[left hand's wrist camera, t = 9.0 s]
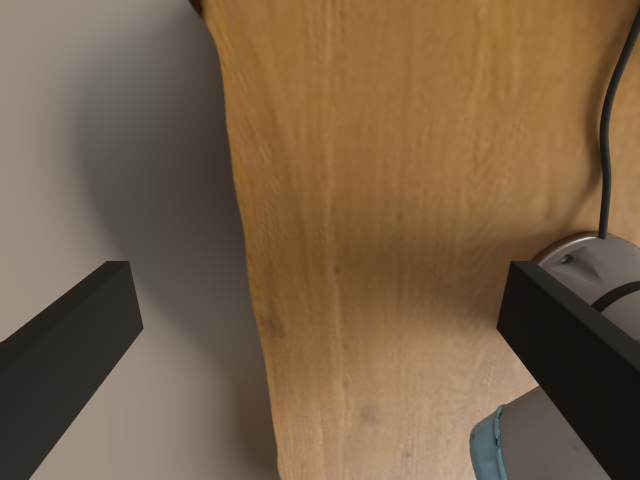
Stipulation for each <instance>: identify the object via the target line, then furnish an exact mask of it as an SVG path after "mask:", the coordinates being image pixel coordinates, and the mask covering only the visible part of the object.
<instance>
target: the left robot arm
mask: <svg viewBox="0 0 640 480" xmlns="http://www.w3.org/2000/svg"><path fill="white" fill-rule="evenodd" d="M639 32H640V8H639V11H638V13H637V15H636V18H635V20H634V23H633V25H632V28H631V30H630V33H629V35H628V38H627V40H626V43H625V45H624V48H623V50H622V53H621V55H620V58H619V60H618V63H617V65H616V68H615V70H614V73H613V75H612V78H611V81H610V84H609V87H608V90H607V93H606V97H605V100H604V105H603V109H602V115H601V122H600V152H601V161H602V173H603V187H602V201H601V211H600V222H599V232H587V233H581V234H576V235H573V236H569V237H567V238H564V239H562V240H560V241H558V242H556V243H554V244H552V245H550V246H549V247H548V248H546V249H545V250H543V251H542V252H541V253H540V254H539V255H538V256H537V257H535V258H534V260H533V261H511V263H510V268H509V273H508V277H507V282H506V286H505V291H504V296H503V300H502V305H501V309H500V314H499V319H498V323H497V328H496V329H497V330H498V331H499V332H500V334H501V335H502V336H503V338H504V339H505V340H506V342H507V343H508V344H509V346H510V347H511V348H512V350H513V351H514V352H515V354H516V355H517V356H518V357H519V359H520V360H521V361H522V363H523V364H524V365H525V367H526V368H527V369H528V371H529V372H530V373H531V375H532V376H533V377H534V379H535V380H536V381H537V383H538V384H539V386H538V387H536V388H534V389H532V390H531V391H529V392H527V393H526V394H524V395H522V396H520V397H519V398H517V399H515V400H514V401H512V402H510V403H508V404H506V405H505V404H503V405H501V406H499V407H498V408H497V410H496V411H495V412H493V413H492V414H490V415H489V416H488V417H486V418H485V419H483V420H482V421H480V422H479V423H477V424H476V425H475V426H474V428H473V429H472V431H471V434H470V440H469V444H470V456H471V461H472V465H473V469H474V472H475V476H476V479H477V480H640V248H638V247H637V246H636V245H634V244H632V243H630V242H628V241H626V240H624V239H622V238H620V237H618V236H615V235H612V234H608V233H607V225H608V215H609V204H610V194H611V163H610V153H609V140H608V132H609V120H610V114H611V109H612V104H613V100H614V96H615V93H616V90H617V87H618V84H619V81H620V78H621V76H622V73H623V71H624V68H625V66H626V64H627V61H628V59H629V56H630V54H631V51H632V49H633V47H634V44H635V42H636V39H637V37H638V34H639ZM142 330H143V323H142V319H141V314H140V309H139V305H138V300H137V296H136V291H135V286H134V282H133V277H132V273H131V268H130V263H129V261H106V262H105V263H104V264H103V265H101V266H100V267H99V268H97V269H96V270H95V271H93V272H92V273H91V274H90V275H88V276H87V277H86V278H84V279H83V280H82V281H80V282H79V283H78V284H77V285H75V286H74V287H73V288H72V289H70V290H69V291H68V292H66V293H65V294H64V295H62V296H61V297H60V298H59V299H57V300H56V301H55V302H53V303H52V304H51V305H50V306H48V307H47V308H46V309H44V310H43V311H42V312H40V313H39V314H38V315H37V316H35V317H34V318H33V319H31V320H30V321H29V322H28V323H26V324H25V325H24V326H22V327H21V328H20V329H18V330H17V331H16V332H15V333H13V334H12V335H11V336H9V337H8V338H7V339H6V340H4V341H2V342H0V480H29V479H30V477H31V476H32V475H33V473H34V472H35V471H36V469H37V468H38V467H39V465H40V464H41V463H42V461H43V460H44V459H45V458H46V456H47V455H48V454H49V452H50V451H51V450H52V448H53V447H54V446H55V444H56V443H57V442H58V440H59V439H60V438H61V436H62V435H63V434H64V433H65V431H66V430H67V429H68V427H69V426H70V425H71V423H72V422H73V421H74V419H75V418H76V417H77V415H78V414H79V413H80V411H81V410H82V409H83V408H84V406H85V405H86V403H87V402H88V401H89V400H90V398H91V397H92V396H93V394H94V393H95V392H96V390H97V389H98V388H99V386H100V385H101V384H102V382H103V381H104V380H105V379H106V377H107V376H108V375H109V373H110V372H111V371H112V369H113V368H114V367H115V365H116V364H117V363H118V361H119V360H120V359H121V357H122V356H123V355H124V354H125V352H126V351H127V350H128V348H129V347H130V346H131V344H132V343H133V342H134V340H135V339H136V338H137V336H138V335H139V334H140V332H141V331H142Z"/></svg>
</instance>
